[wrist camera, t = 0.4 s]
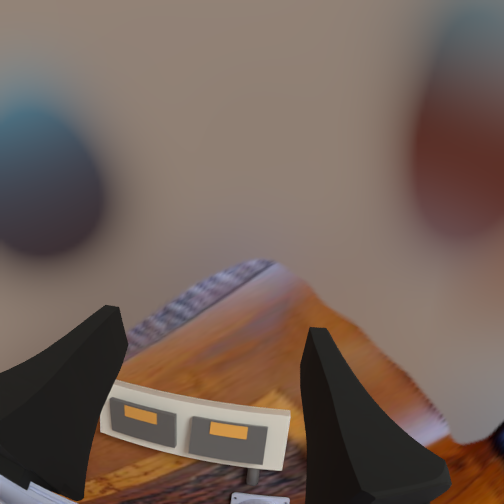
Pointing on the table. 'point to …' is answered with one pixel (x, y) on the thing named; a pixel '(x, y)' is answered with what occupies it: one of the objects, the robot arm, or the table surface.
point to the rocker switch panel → (207, 409)
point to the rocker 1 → (143, 422)
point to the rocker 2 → (228, 440)
